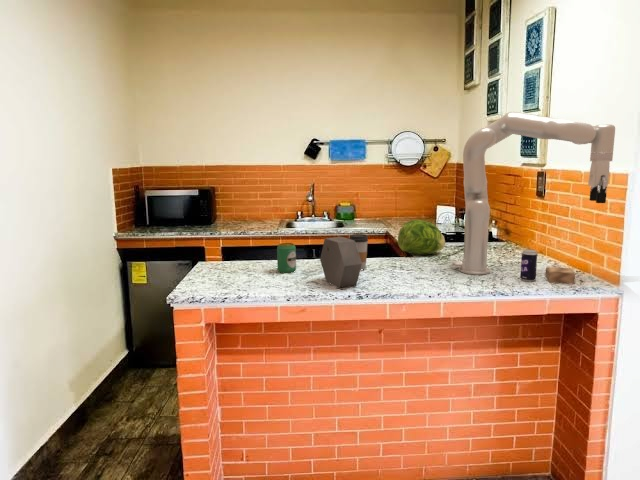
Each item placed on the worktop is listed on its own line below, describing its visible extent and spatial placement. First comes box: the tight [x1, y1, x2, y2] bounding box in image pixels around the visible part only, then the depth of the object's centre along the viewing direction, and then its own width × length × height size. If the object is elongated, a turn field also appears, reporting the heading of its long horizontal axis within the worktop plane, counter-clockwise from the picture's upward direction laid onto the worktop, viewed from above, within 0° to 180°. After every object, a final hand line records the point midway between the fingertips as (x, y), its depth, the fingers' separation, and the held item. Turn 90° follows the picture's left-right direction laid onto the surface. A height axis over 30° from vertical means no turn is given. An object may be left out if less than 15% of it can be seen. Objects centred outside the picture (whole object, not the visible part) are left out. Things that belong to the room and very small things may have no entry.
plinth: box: [544, 266, 576, 285], centre depth 193 cm, size 9×9×4 cm
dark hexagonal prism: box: [319, 236, 362, 289], centre depth 190 cm, size 17×8×21 cm
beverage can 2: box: [519, 249, 538, 283], centre depth 193 cm, size 6×6×12 cm
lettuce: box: [397, 219, 446, 256], centre depth 245 cm, size 18×23×19 cm
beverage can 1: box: [276, 242, 297, 274], centre depth 210 cm, size 8×8×12 cm
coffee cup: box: [348, 233, 369, 270], centre depth 213 cm, size 8×8×15 cm
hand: (597, 201), depth 191 cm, fingers open, 9 cm apart
